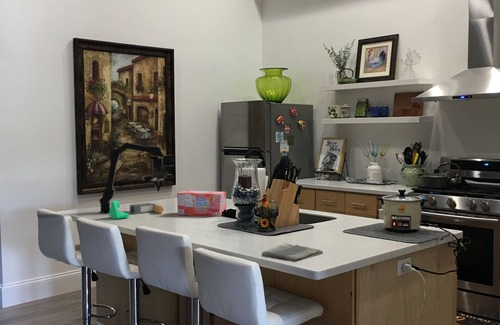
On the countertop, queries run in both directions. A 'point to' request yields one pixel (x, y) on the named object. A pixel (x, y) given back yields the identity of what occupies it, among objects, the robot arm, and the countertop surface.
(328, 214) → the countertop surface
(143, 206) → the housing
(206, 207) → the box
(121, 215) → the camera mount
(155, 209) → the door
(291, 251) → the dish towel
